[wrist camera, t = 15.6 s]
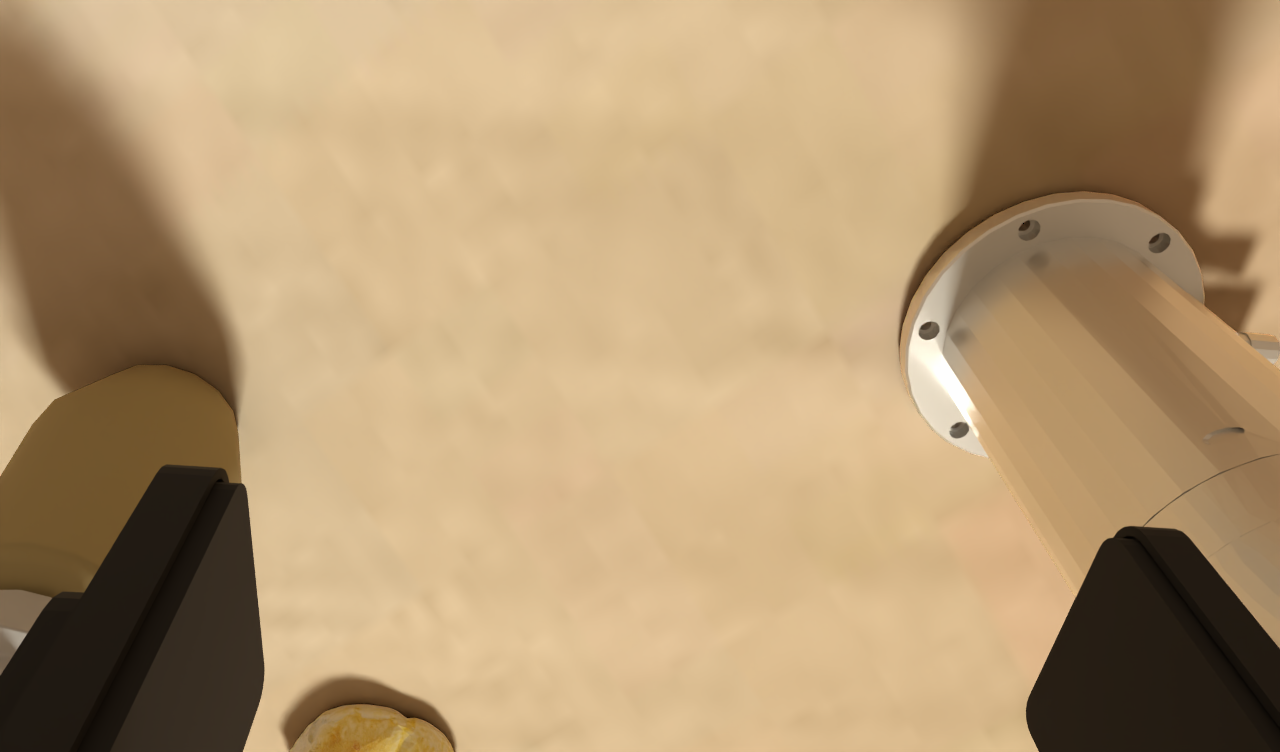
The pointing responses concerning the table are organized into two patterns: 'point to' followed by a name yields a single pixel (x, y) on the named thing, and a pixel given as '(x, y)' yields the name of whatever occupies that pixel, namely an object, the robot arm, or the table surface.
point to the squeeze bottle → (97, 479)
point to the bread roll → (370, 732)
